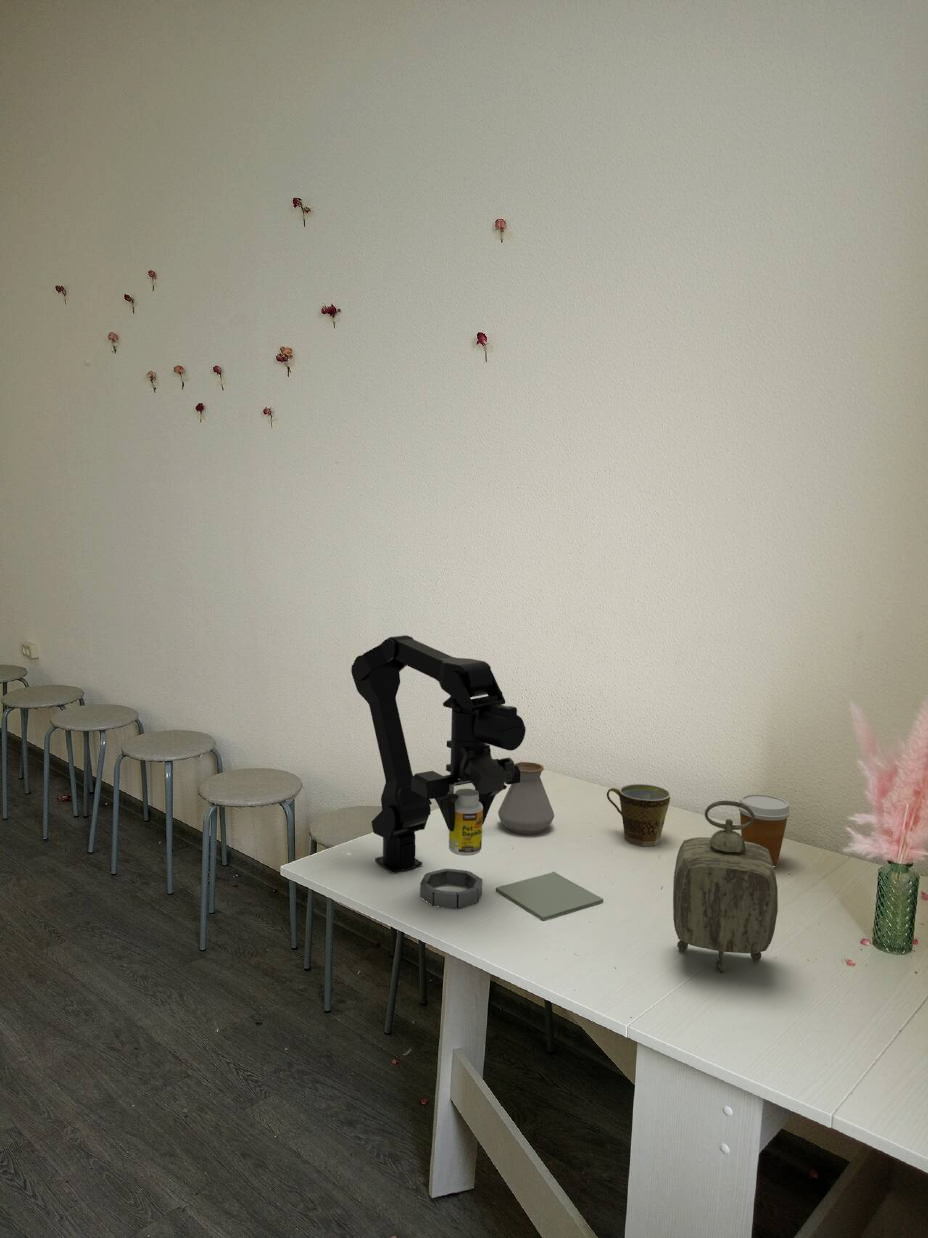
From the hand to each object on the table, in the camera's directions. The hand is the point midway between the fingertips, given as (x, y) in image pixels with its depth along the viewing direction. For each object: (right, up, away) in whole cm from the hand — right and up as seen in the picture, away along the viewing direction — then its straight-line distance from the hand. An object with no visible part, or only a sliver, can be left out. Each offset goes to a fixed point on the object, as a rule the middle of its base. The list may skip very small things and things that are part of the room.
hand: (465, 827), depth 158 cm
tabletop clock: (+37, -16, -19) cm, 45 cm away
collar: (-2, -12, +2) cm, 12 cm away
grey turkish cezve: (+8, -8, +33) cm, 35 cm away
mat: (+14, -12, +2) cm, 19 cm away
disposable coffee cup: (+56, -11, +20) cm, 60 cm away
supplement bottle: (0, -4, +1) cm, 4 cm away
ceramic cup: (+34, -9, +30) cm, 46 cm away
